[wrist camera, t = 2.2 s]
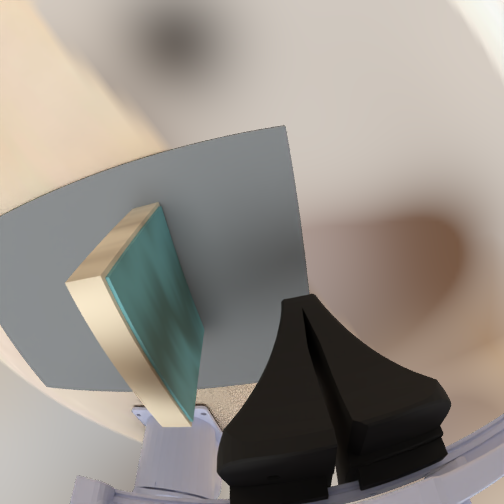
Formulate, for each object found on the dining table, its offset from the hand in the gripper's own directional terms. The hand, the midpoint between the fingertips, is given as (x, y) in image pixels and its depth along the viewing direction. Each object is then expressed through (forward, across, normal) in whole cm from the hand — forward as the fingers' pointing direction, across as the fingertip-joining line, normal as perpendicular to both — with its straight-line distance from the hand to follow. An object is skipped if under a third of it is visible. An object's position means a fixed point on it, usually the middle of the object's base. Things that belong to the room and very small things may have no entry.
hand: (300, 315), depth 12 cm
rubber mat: (+6, +13, +2) cm, 14 cm away
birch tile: (+5, +7, 0) cm, 9 cm away
